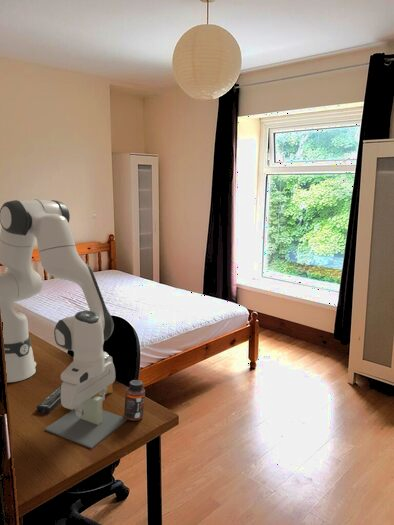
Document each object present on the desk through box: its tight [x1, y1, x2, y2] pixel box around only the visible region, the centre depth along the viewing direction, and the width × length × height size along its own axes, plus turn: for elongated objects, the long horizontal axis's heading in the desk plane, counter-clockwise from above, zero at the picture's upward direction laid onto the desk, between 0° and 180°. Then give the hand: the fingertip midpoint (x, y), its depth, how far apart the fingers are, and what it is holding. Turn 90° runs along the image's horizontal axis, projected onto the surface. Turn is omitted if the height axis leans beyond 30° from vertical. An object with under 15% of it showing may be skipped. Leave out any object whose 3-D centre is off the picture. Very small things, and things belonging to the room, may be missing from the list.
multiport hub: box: [36, 384, 62, 415], centre depth 137 cm, size 4×14×2 cm, turn 167°
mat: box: [44, 409, 128, 450], centre depth 125 cm, size 18×16×1 cm
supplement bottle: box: [123, 379, 146, 422], centre depth 128 cm, size 6×6×11 cm
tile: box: [80, 395, 103, 425], centre depth 126 cm, size 7×2×8 cm, turn 63°
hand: (90, 407), depth 126 cm, fingers open, 8 cm apart
